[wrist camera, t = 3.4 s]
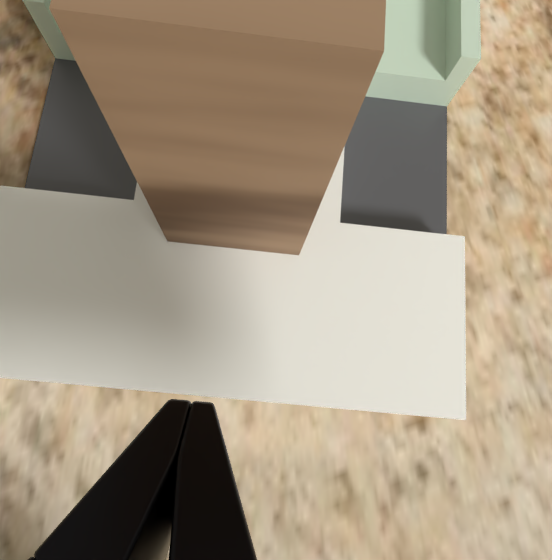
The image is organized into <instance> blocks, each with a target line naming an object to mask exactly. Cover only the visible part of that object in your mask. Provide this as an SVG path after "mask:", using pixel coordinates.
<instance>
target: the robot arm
mask: <svg viewBox="0 0 552 560" xmlns="http://www.w3.org/2000/svg"><path fill="white" fill-rule="evenodd" d="M169 546H170V552H169V560H257V558H256V554H255V551H254V547H253V543H252V540H251V536H250V532H249V529H248V525H247V522H246V518H245V514H244V511H243V507H242V504H241V500H240V496H239V493H238V489H237V485H236V482H235V478H234V475H233V471H232V467H231V464H230V460H229V456H228V453H227V449H226V446H225V442H224V438H223V435H222V431H221V428H220V424H219V420H218V417H217V413H216V409H215V406H214V404H213V403H210V402H199V401H194V402H193V403H192V404H191V402H190V401H188V400H177V399H171V400H169V401H168V402H167V403H166V404H165V405H164V406H163V407H162V408H161V409H160V410H159V412H158V413H157V414H156V415H155V416H154V417H153V418H152V420H151V421H150V422H149V423H148V424H147V425H146V426H145V428H144V429H143V430H142V431H141V432H140V433H139V434H138V435H137V437H136V438H135V439H134V440H133V441H132V442H131V443H130V445H129V446H128V447H127V448H126V449H125V450H124V451H123V453H122V454H121V455H120V456H119V457H118V458H117V459H116V461H115V462H114V463H113V464H112V465H111V466H110V467H109V468H108V470H107V471H106V472H105V473H104V474H103V475H102V476H101V478H100V479H99V480H98V481H97V482H96V483H95V484H94V486H93V487H92V488H91V489H90V490H89V491H88V492H87V493H86V495H85V496H84V497H83V498H82V499H81V500H80V501H79V503H78V504H77V505H76V506H75V507H74V508H73V509H72V511H71V512H70V513H69V514H68V515H67V516H66V517H65V519H64V520H63V521H62V522H61V523H60V524H59V525H58V526H57V528H56V529H55V530H54V531H53V532H52V533H51V534H50V536H49V537H48V538H47V539H46V540H45V541H44V542H43V544H42V545H41V546H40V547H39V548H38V549H37V550H36V552H35V554H34V555H35V558H34V557H30V558H29V559H28V560H166V557H167V553H168V550H169Z"/></svg>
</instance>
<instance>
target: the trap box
mask: <svg viewBox="0 0 552 560" xmlns="http://www.w3.org/2000/svg"><path fill="white" fill-rule="evenodd" d="M23 2H24V4H25V6H26V7H27V9H28V11H29V13H30V14H31V16H32V18H33V20H34V22H35V23H36V25H37V27H38V29H39V30H40V32H41V34H42V36H43V37H44V39H45V41H46V43H47V45H48V46H49V48H50V50H51V52H52V53H53V55H54V57H55V62H54V66H53V70H52V74H51V79H50V83H49V87H48V91H47V96H46V100H45V104H44V108H43V113H42V117H41V121H40V125H39V130H38V134H37V138H36V142H35V147H34V151H33V155H32V159H31V164H30V168H29V172H28V176H27V181H26V185H25V188H19V187H10V186H1V185H0V378H8V379H19V380H30V381H41V382H52V383H63V384H74V385H85V386H96V387H107V388H118V389H129V390H140V391H151V392H162V393H173V394H184V395H195V396H206V397H217V398H229V399H240V400H251V401H262V402H273V403H284V404H295V405H306V406H317V407H328V408H339V409H350V410H361V411H372V412H383V413H394V414H405V415H416V416H427V417H438V418H449V419H460V420H466V335H465V236H457V235H448V234H446V232H447V105H448V104H449V103H450V101H451V100H452V98H453V97H454V96H455V94H456V93H457V91H458V90H459V89H460V87H461V86H462V84H463V83H464V82H465V80H466V79H467V78H468V76H469V75H470V73H471V72H472V71H473V69H474V68H475V66H476V65H477V64H478V62H479V61H480V59H481V38H480V0H386V16H385V42H384V52H383V55H382V57H381V60H380V62H379V64H378V67H377V69H376V72H375V74H374V76H373V79H372V81H371V84H370V86H369V88H368V91H367V93H366V96H365V98H364V101H363V103H362V105H361V108H360V110H359V113H358V115H357V117H356V120H355V122H354V125H353V127H352V129H351V132H350V134H349V137H348V139H347V141H346V144H345V146H344V149H343V151H342V153H341V156H340V158H339V161H338V163H337V165H336V168H335V170H334V173H333V175H332V177H331V180H330V182H329V185H328V187H327V189H326V192H325V194H324V197H323V199H322V201H321V204H320V206H319V209H318V211H317V213H316V216H315V218H314V221H313V223H312V225H311V228H310V230H309V233H308V235H307V237H306V240H305V242H304V245H303V247H302V249H301V252H300V254H299V255H291V254H281V253H272V252H262V251H253V250H243V249H234V248H225V247H215V246H206V245H196V244H187V243H177V242H168V241H167V240H166V238H165V236H164V234H163V232H162V230H161V228H160V226H159V224H158V222H157V220H156V218H155V216H154V214H153V212H152V210H151V208H150V206H149V204H148V202H147V200H146V198H145V196H144V194H143V192H142V190H141V188H140V186H139V184H138V183H137V181H136V179H135V177H134V175H133V173H132V171H131V169H130V167H129V165H128V163H127V161H126V159H125V157H124V155H123V153H122V151H121V149H120V147H119V145H118V143H117V141H116V139H115V137H114V135H113V133H112V131H111V129H110V127H109V125H108V123H107V121H106V119H105V117H104V115H103V114H102V112H101V110H100V108H99V106H98V104H97V102H96V100H95V98H94V96H93V94H92V92H91V90H90V88H89V86H88V84H87V82H86V80H85V78H84V76H83V74H82V72H81V70H80V68H79V66H78V64H77V62H76V60H75V58H74V56H73V54H72V52H71V50H70V48H69V47H68V45H67V43H66V41H65V39H64V37H63V35H62V33H61V31H60V29H59V27H58V25H57V23H56V21H55V19H54V17H53V15H52V13H51V11H50V9H49V6H50V2H51V0H23Z"/></svg>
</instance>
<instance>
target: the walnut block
mask: <svg viewBox="0 0 552 560" xmlns="http://www.w3.org/2000/svg"><path fill="white" fill-rule="evenodd" d="M49 9H50V11H51V13H52V15H53V17H54V19H55V21H56V23H57V25H58V27H59V29H60V31H61V33H62V35H63V37H64V39H65V41H66V43H67V45H68V47H69V48H70V50H71V52H72V54H73V56H74V58H75V60H76V62H77V64H78V66H79V68H80V70H81V72H82V74H83V76H84V78H85V80H86V82H87V84H88V86H89V88H90V90H91V92H92V94H93V96H94V98H95V100H96V102H97V104H98V106H99V108H100V110H101V112H102V114H103V115H104V117H105V119H106V121H107V123H108V125H109V127H110V129H111V131H112V133H113V135H114V137H115V139H116V141H117V143H118V145H119V147H120V149H121V151H122V153H123V155H124V157H125V159H126V161H127V163H128V165H129V167H130V169H131V171H132V173H133V175H134V177H135V179H136V181H137V183H138V184H139V186H140V188H141V190H142V192H143V194H144V196H145V198H146V200H147V202H148V204H149V206H150V208H151V210H152V212H153V214H154V216H155V218H156V220H157V222H158V224H159V226H160V228H161V230H162V232H163V234H164V236H165V238H166V240H167V241H168V242H177V243H187V244H196V245H206V246H215V247H225V248H234V249H243V250H253V251H262V252H272V253H281V254H291V255H299V254H300V252H301V249H302V247H303V245H304V242H305V240H306V237H307V235H308V233H309V230H310V228H311V225H312V223H313V221H314V218H315V216H316V213H317V211H318V209H319V206H320V204H321V201H322V199H323V197H324V194H325V192H326V189H327V187H328V185H329V182H330V180H331V177H332V175H333V173H334V170H335V168H336V165H337V163H338V161H339V158H340V156H341V153H342V151H343V149H344V146H345V144H346V141H347V139H348V137H349V134H350V132H351V129H352V127H353V125H354V122H355V120H356V117H357V115H358V113H359V110H360V108H361V105H362V103H363V101H364V98H365V96H366V93H367V91H368V88H369V86H370V84H371V81H372V79H373V76H374V74H375V72H376V69H377V67H378V64H379V62H380V60H381V57H382V55H383V52H384V42H385V16H386V0H51V2H50V6H49Z"/></svg>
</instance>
